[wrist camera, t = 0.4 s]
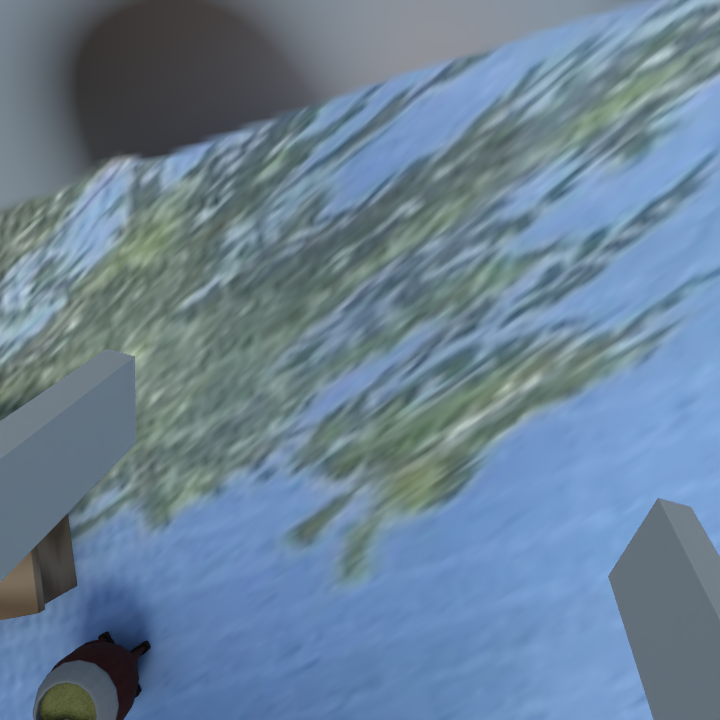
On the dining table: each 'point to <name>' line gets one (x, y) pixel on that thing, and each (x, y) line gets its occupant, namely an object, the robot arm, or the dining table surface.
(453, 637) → the dining table surface
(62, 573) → the walnut box
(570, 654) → the dining table surface
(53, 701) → the mate gourd
